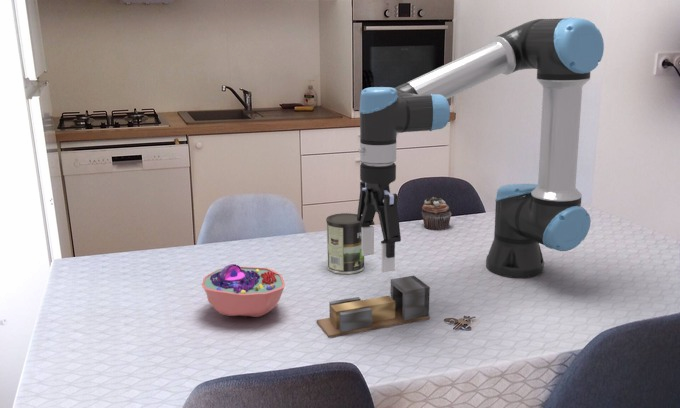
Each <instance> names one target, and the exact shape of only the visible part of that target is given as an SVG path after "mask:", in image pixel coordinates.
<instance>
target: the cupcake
mask: <svg viewBox="0 0 680 408" xmlns="http://www.w3.org/2000/svg"><path fill="white" fill-rule="evenodd" d="M421 214H422V220H423V226H424V228H425V229H427V230H429V231H430V230H431V231H444V230H448V229H449V227H450V221H451V216H452V212H451V211H450V205H448V204H447V203H446V201H445V200H443V198H442V197H440V196H439V197H437V196H436V195H433V196H432V197H431V198H425V199H424V204H423V205H422V207H421Z"/></svg>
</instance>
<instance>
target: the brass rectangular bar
mask: <svg viewBox="0 0 680 408" xmlns="http://www.w3.org/2000/svg"><path fill="white" fill-rule="evenodd" d="M364 308H370V309H372V322H376V321H382V320H387V319H393V318H395V301H394V300H393V299H392V298H391V295H385V296H378V297H374V298H373V297H372V298H367V299H361V300H360V301H354V302H348V303H342V304H336V305H331V323H332V324H333V325H334V327H335V328H336V329H338V328H340V321H339V313H341V312H347V311H353V310H358V309H364Z"/></svg>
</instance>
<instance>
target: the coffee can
mask: <svg viewBox="0 0 680 408" xmlns="http://www.w3.org/2000/svg"><path fill="white" fill-rule="evenodd" d="M325 219H326V220H325V221H326V244H327V245H326V247H327V248H326V249H327V251H326V253H327V266H326V267H327V270H328V271H329V272H331V273H333V274H334V273H335V274H338V275H353V274H358V273H360V272H362V271H364V269H365V256H362V226H361V225H360V221H357V213H350V212H347V213H343V212H342V213H334V214H331V215H329V216H327V217H326V218H325Z"/></svg>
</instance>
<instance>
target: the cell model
mask: <svg viewBox="0 0 680 408" xmlns="http://www.w3.org/2000/svg"><path fill="white" fill-rule="evenodd" d="M201 286H202V288H203V290H204V293H205V295H206V298H207V301H208V303H209V304H210V305H211V307H212V308H213V309H214V310H215V311H216V312H217V313H219V314H220V315H223V316H228V317H252V318H258V317H259V318H260V317H263V316H264V315H266V314H268V313H269V312H270V311H272V310H273V309H274V308H275V307H276V306H277V305H278V304H279V302H280V299H281V297H282V295H283V291H284V289H285V286H286V285H285V279H284V277H283V275H282V274H281V273H279V272H277V271H275V270H273V269H271V268H268V267H255V266H241V265H239V264H238V265H237V264H234V263H232V264H228V265H226V266H224V267H223V268H219V269H217V270H214V271H211V273H208V274H207V275H205V276H204V277H203V279H202V282H201Z"/></svg>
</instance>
